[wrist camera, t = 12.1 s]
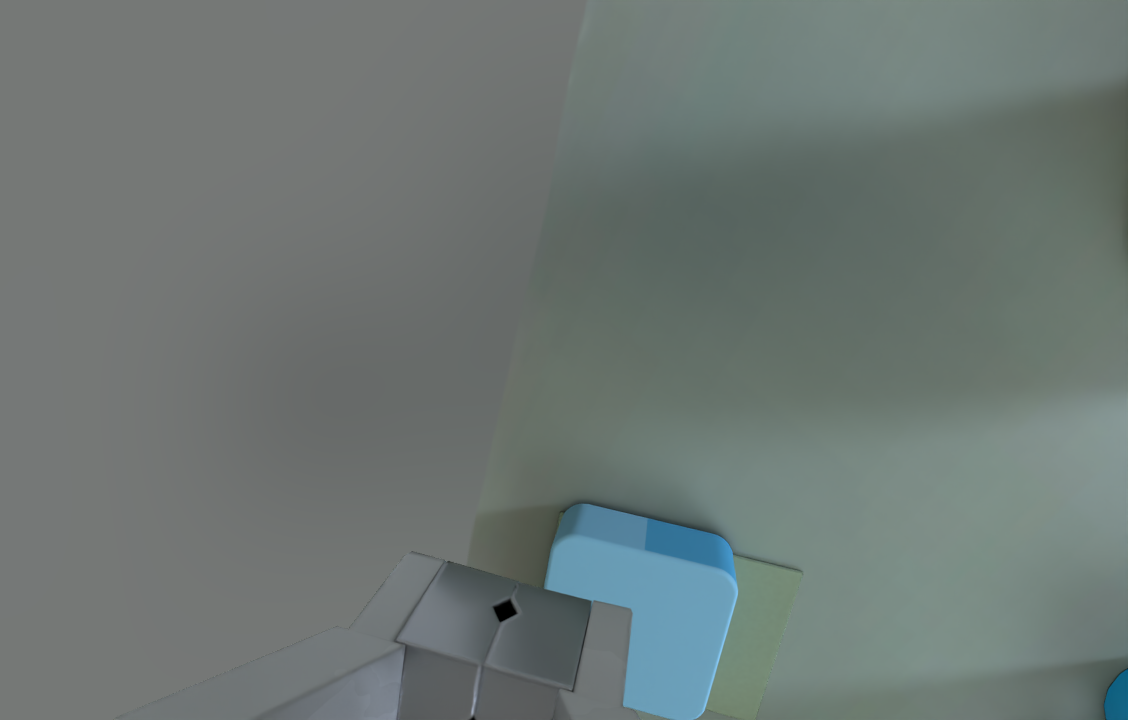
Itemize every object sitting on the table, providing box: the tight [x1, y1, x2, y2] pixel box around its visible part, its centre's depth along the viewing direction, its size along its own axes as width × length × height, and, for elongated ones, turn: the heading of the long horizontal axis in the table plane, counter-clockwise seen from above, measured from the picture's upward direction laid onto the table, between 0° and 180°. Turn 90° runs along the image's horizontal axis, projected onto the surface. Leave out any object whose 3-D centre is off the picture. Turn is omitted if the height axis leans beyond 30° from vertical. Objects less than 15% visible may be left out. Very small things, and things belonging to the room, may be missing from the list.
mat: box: [556, 512, 803, 720], centre depth 46 cm, size 17×13×1 cm
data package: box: [544, 504, 738, 720], centre depth 43 cm, size 12×4×12 cm
